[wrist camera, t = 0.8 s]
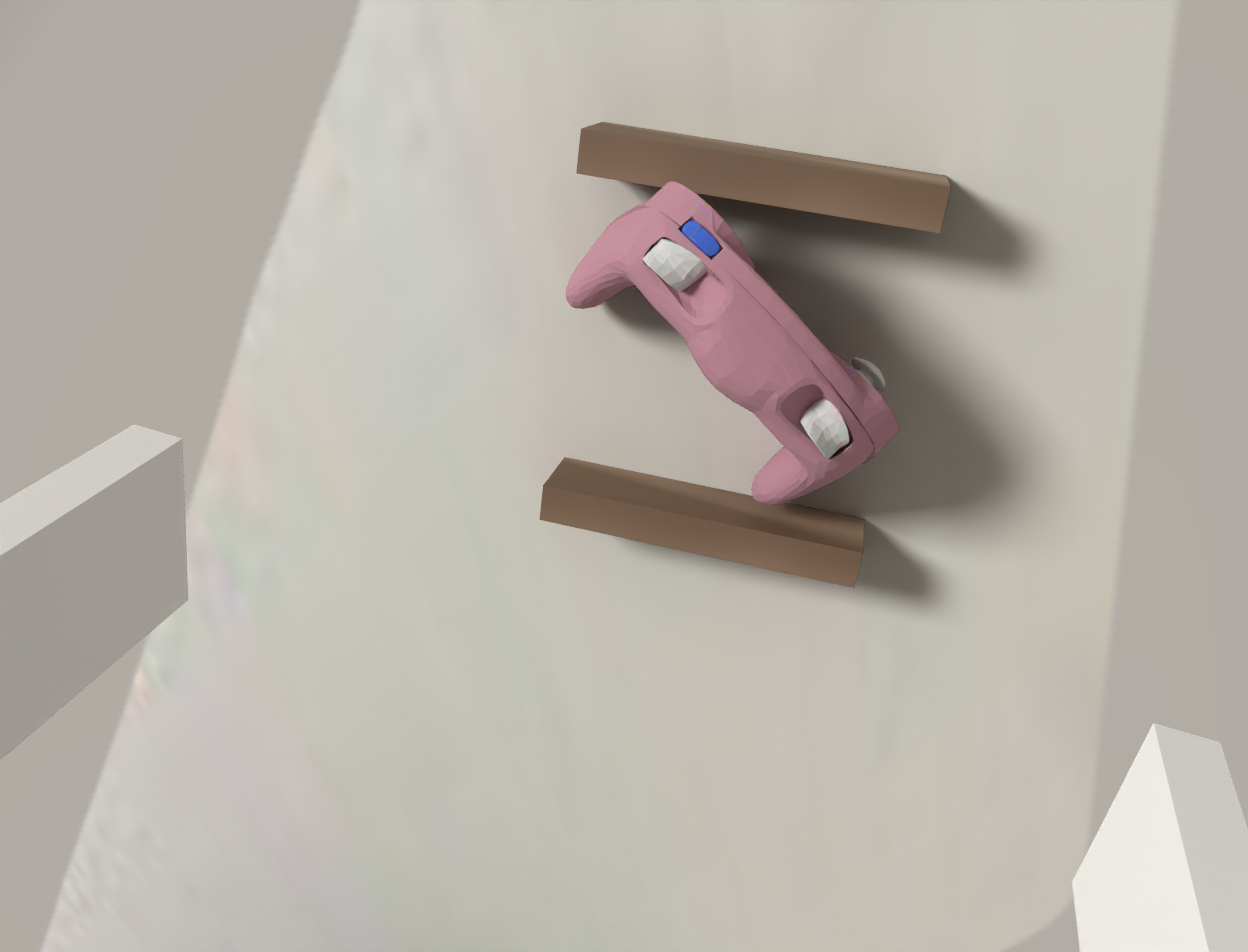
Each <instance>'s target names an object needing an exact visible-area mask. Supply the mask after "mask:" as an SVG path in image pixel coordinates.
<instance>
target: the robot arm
mask: <svg viewBox="0 0 1248 952" xmlns="http://www.w3.org/2000/svg"><path fill="white" fill-rule="evenodd" d="M183 472H184V471H183V441H182V438H178V437H175V436H172V435H168V434H164V433H161V432H158V431H154V430H151V429H148V428H144V427H141V426H137V425H133V426H131V427H129V428H127V429H126V430H124V431H122V432H121V433H119V434H117V435H115V436H114V437H112V438H110V439H109V440H107V441H105V442H104V443H102V444H100V445H99V446H97V447H95V448H93V449H92V450H90V451H88V452H87V453H85V454H83V455H81V456H80V457H78V458H76V459H75V460H73V461H71V462H70V463H68V464H66V465H64V466H63V467H61V468H59V469H58V470H56V471H54V472H53V473H51V474H49V475H47V476H46V477H44V478H42V479H41V480H39V481H37V482H36V483H34V484H32V485H30V486H29V487H27V488H25V489H24V490H22V491H20V492H19V493H17V494H15V495H14V496H12V497H10V498H8V499H7V500H5V501H3V502H2V503H0V760H1V759H2V758H3V757H5V756H6V755H7V754H8V753H9V752H11V751H12V750H13V749H14V748H15V747H16V746H18V745H19V744H20V743H21V742H22V741H23V740H25V739H26V738H27V737H28V736H29V735H30V734H32V733H33V732H34V731H35V730H36V729H37V728H39V727H40V726H41V725H42V724H43V723H45V722H46V721H47V720H48V719H49V718H50V717H52V716H53V715H54V714H55V713H56V712H57V711H58V710H60V709H61V708H62V707H63V706H64V705H65V704H67V703H68V702H69V701H70V700H71V699H73V698H74V697H75V696H76V695H77V694H78V693H80V692H81V691H82V690H83V689H84V688H85V687H86V686H88V685H89V684H90V683H91V682H92V681H94V680H95V679H96V678H97V677H98V676H99V675H101V674H102V673H103V672H104V671H105V670H106V669H108V668H109V667H110V666H111V665H112V664H114V663H115V662H116V661H117V660H118V659H119V658H121V657H122V656H123V655H124V654H125V653H126V652H128V651H129V650H130V649H131V648H132V647H133V646H135V645H136V644H137V643H138V642H139V641H140V640H142V639H143V638H144V637H145V636H146V635H147V634H149V633H150V632H151V631H152V630H153V629H154V628H156V627H157V626H158V625H159V624H160V623H161V622H163V621H164V620H165V619H166V618H167V617H169V616H170V615H171V614H172V613H173V612H174V611H176V610H177V609H178V608H179V607H180V606H181V605H183V604H184V603H185V602H186V601H187V600H188V583H187V554H186V526H185V497H184V473H183ZM1072 885H1073V894H1074V902H1075V911H1076V920H1077V928H1078V937H1079V945H1080V952H1248V828H1247V825H1246V822H1245V819H1244V816H1243V813H1242V810H1241V806H1240V803H1239V800H1238V797H1237V794H1236V791H1235V788H1234V785H1233V781H1232V778H1231V775H1230V772H1229V769H1228V766H1227V763H1226V759H1225V756H1224V753H1223V750H1222V747H1221V744H1220V742H1217V741H1213V740H1210V739H1207V738H1203V737H1200V736H1196V735H1193V734H1189V733H1186V732H1183V731H1179V730H1176V729H1172V728H1169V727H1166V726H1162V725H1158V724H1155V723H1153V725H1152V727H1151V729H1150V731H1149V733H1148V735H1147V737H1146V739H1145V741H1144V743H1143V745H1142V747H1141V749H1140V750H1139V752H1138V754H1137V756H1136V759H1135V760H1134V762H1133V764H1132V766H1131V768H1130V770H1129V772H1128V774H1127V776H1126V778H1125V780H1124V782H1123V784H1122V786H1121V788H1120V790H1119V792H1118V794H1117V796H1116V798H1115V799H1114V801H1113V803H1112V805H1111V807H1110V809H1109V811H1108V813H1107V815H1106V818H1105V819H1104V821H1103V823H1102V825H1101V827H1100V829H1099V831H1098V833H1097V835H1096V837H1095V839H1094V841H1093V843H1092V844H1091V846H1090V848H1089V850H1088V852H1087V854H1086V856H1085V858H1084V860H1083V862H1082V864H1081V866H1080V868H1079V870H1078V872H1077V874H1076V876H1075V878H1074V880H1073V882H1072Z"/></svg>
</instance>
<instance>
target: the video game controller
mask: <svg viewBox="0 0 1248 952" xmlns="http://www.w3.org/2000/svg"><path fill="white" fill-rule="evenodd" d="M633 285H635V286H636V287H637V288H638V289H639V290H640V291H641V293H642V294H643V295H644V296H645V297H646V299H647V300H648V301H649V302H650V303H651V305H652V306H653V307H654V308H655V309H656V310H657V311H658V312H659V313H660V314H661V315H662V316H663V317H664V318H665V319H666V320H667V321H668V322H669V323H670V325H671V326H672V327H673V328H674V329H675V330H676V331H677V332H678V333H679V334H680V335H681V336H682V337H683V339H684V340H685V341H686V343H687V345H688V347H689V349H690V351H691V354H692V356H693V358H694V360H695V361H696V363H697V365H698V366H699V368H700V369H701V371H702V373H703V374H704V376H705V377H706V378H707V379H708V380H709V382H710V383H711V384H712V385H713V386H714V387H715V388H716V389H717V390H718V391H720V392H721V393H722V394H724V395H725V396H726V397H728V398H729V399H730V400H732V401H733V402H735V403H737V404H739V405H740V406H742V407H744V408H746V409H748V410H749V411H751V412H753V413H754V414H755V415H756V416H757V417H758V418H759V420H760V421H761V422H762V423H763V424H764V425H765V426H766V427H767V428H768V429H769V431H770V432H771V433H772V434H773V435H774V436H775V437H776V438H777V439H778V440H779V442H780V443H781V444H782V445H783V446H784V447H783V448H782V449H781V450H780V451H778V452H777V453H776V454H775V455H774V456H773V457H772V458H771V460H770V461H769V462H768V463H767V464H766V465H765V466H764V467H763V468H762V469H761V470H760V471H759V473H758V474H757V475H756V477H755V479H754V480H753V484H752V493H753V498H754V499H755V500H756V501H758V502H759V503H760V504H763V505H769V506H772V505H781V504H783V503H786V502H788V501H791V500H793V499H796V498H798V497H801V496H803V495H806V494H808V493H811V492H813V491H815V490H817V489H819V488H821V487H823V486H825V485H827V484H829V483H831V482H833V481H835V480H837V479H839V478H841V477H843V476H845V475H846V474H848V473H849V472H851V471H852V470H854V469H855V468H856V467H858V466H859V465H861V464H863V463H865V462H867V461H868V460H870V459H872V458H873V457H874V456H875V455H876V454H877V453H878V452H879V451H880V450H881V449H882V448H883V447H884V446H885V445H886V444H887V443H888V442H889V440H890V439H891V438H892V437H893V436H894V435H895V434H896V433H897V432H898V430H899V425H898V422H897V420H896V418H895V416H894V414H893V413H892V411H891V409H890V407H889V405H888V404H887V403H886V402H885V400H884V399H883V398H882V396H881V395H880V394H879V393H878V391H877V390H876V389H878V390H881V391H883V390H884V389H885V381H884V378H883V376H882V373H881V371H880V370H879V369H878V368H877V367H876V366H875V365H874V364H873V363H872V362H870V361H867V360H864V359H861V358H856V357H855V358H853V360H852V363H853V366H854V368H855V369H854V368H852V367H851V366H850V365H849V364H848V363H846V362H845V361H844V360H843V359H842V358H840V357H839V356H837V355H836V354H835V353H833V352H832V351H830V350H828V349H827V348H826V347H825V346H824V345H823V344H822V343H821V342H820V340H819V339H818V338H817V337H816V336H815V335H814V334H813V332H812V331H811V330H810V329H809V328H808V327H807V326H806V324H805V323H804V322H803V321H802V320H801V319H800V318H799V316H798V315H797V314H796V313H795V312H794V311H793V310H792V309H791V308H790V307H789V306H788V305H787V303H786V302H785V301H784V300H783V299H782V298H781V297H780V296H779V295H778V294H777V293H776V292H775V291H774V290H773V289H772V287H771V286H770V285H769V284H768V283H767V282H766V281H765V280H764V279H763V278H762V277H761V276H760V275H759V274H758V273H756V272H755V267H754V264H753V262H752V260H751V258H750V256H749V254H748V252H747V250H746V249H745V247H744V245H743V244H742V243H741V241H740V240H739V238H738V237H737V235H736V234H735V233H734V231H733V230H732V229H731V227H730V226H729V225H728V224H727V222H726V221H725V220H724V219H723V218H722V217H721V216H720V215H719V214H718V213H717V212H716V211H715V210H714V209H713V208H712V207H711V206H710V205H709V204H708V203H707V202H706V201H704V200H703V199H702V198H701V197H700V196H698V195H697V194H696V193H694V192H693V191H691V190H690V189H689V188H687V187H686V186H684V185H682V184H679V183H677V182H672V181H671V182H668V183H667V184H666V185H665V186H663V187H662V188H661V189H660V190H659V191H658V192H657V193H656V194H655V195H654V196H653V197H651V198H650V199H649V200H648V201H647V202H646V203H643V204H641V205H638V206H636V207H634V208H633V209H631V210H629V211H627V212H626V213H624V214H623V215H621V216H620V217H618V218H617V219H616V220H614V221H613V222H612V223H611V224H610V225H609V226H608V227H607V228H606V229H605V231H604V232H603V233H602V235H601V236H600V237H599V238H598V240H597V241H596V242H595V244H594V245H593V246H592V248H591V249H590V250H589V252H588V253H587V254H586V256H585V257H584V258H583V259H582V261H581V262H580V263H579V265H578V266H577V268H576V269H575V271H574V272H573V274H572V276H571V277H570V279H569V282H568V285H567V289H566V299H567V301H568V302H569V304H570V305H571V306H572V307H574V308H582V309H584V308H590V307H595V306H597V305H600V304H602V303H603V302H605V301H606V300H608V299H609V298H611V297H612V296H614V295H616V294H617V293H619V292H620V291H622V290H623V289H625V288H628V287H630V286H633ZM874 387H875V388H876V389H875V388H874Z"/></svg>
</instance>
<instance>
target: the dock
mask: <svg viewBox="0 0 1248 952" xmlns="http://www.w3.org/2000/svg"><path fill="white" fill-rule="evenodd" d="M577 174H583V175H589V176H595V177H601V178H607V179H613V180H619V181H626V182H632V183H638V184H644V185H650V186H656V187H663V186H665V185H666V184H667V183H668V182H671V181H672V182H677V183H679V184H682V185H684V186H686V187H687V188H689V189H690V190H691V191H693V192H694V193H698V194H704V195H710V196H716V197H722V198H729V199H735V200H741V201H747V202H753V203H759V204H765V205H771V206H777V207H783V208H789V209H795V210H801V211H807V212H813V213H819V214H825V215H832V216H838V217H844V218H850V219H856V220H862V221H868V222H874V223H880V224H886V225H892V226H898V227H904V228H910V229H916V230H922V231H928V232H934V233H940V231H941V226H942V222H943V218H944V214H945V210H946V206H947V202H948V197H949V193H950V189H951V186H950V184H949V181H948V179H947V176H944V175H938V174H931V173H925V172H918V171H912V170H906V169H899V168H893V167H887V166H880V165H874V164H867V163H861V162H855V161H848V160H842V159H836V158H829V157H823V156H817V155H810V154H804V153H797V152H791V151H785V150H778V149H772V148H766V147H759V146H753V145H746V144H740V143H734V142H727V141H721V140H715V139H708V138H702V137H696V136H689V135H683V134H676V133H670V132H664V131H657V130H651V129H645V128H638V127H632V126H626V125H619V124H613V123H606V122H601V123H598V124H595V125H592V126H588V127H585V128H582V129H581V135H580V145H579V154H578V164H577ZM540 520H544V521H548V522H553V523H557V524H562V525H567V526H571V527H576V528H581V529H585V530H590V531H594V532H599V533H604V534H608V535H613V536H618V537H622V538H627V539H631V540H636V541H641V542H645V543H650V544H655V545H659V546H664V547H668V548H673V549H678V550H682V551H687V552H692V553H696V554H701V555H705V556H710V557H715V558H719V559H724V560H728V561H733V562H738V563H742V564H747V565H752V566H756V567H761V568H765V569H770V570H775V571H779V572H784V573H789V574H793V575H798V576H802V577H807V578H812V579H816V580H821V581H826V582H830V583H835V584H839V585H844V586H849V587H853V588H854V587H855V583H856V579H857V575H858V571H859V567H860V563H861V558H862V554H863V539H864V520H865V519H860V518H856V517H851V516H846V515H841V514H836V513H831V512H827V511H822V510H817V509H812V508H807V507H802V506H798V505H793V504H788V503H783V504H781V505H772V506H769V505H763V504H760V503H759V502H758V501H756V500H755V499H754V498H753V496H749V495H744V494H739V493H735V492H730V491H725V490H720V489H715V488H710V487H706V486H701V485H696V484H691V483H686V482H681V481H676V480H672V479H667V478H662V477H657V476H652V475H647V474H643V473H638V472H633V471H628V470H623V469H618V468H614V467H609V466H604V465H599V464H594V463H589V462H584V461H580V460H575V459H570V458H564V459H563V460H562V462H561V463H560V464H559V465H558V467H557V468H556V469H555V471H554V472H553V473H552V475H551V476H550V477H549V479H548V480H547V481H546V483H545V484H544V485H543V493H542V502H541V512H540Z"/></svg>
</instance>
